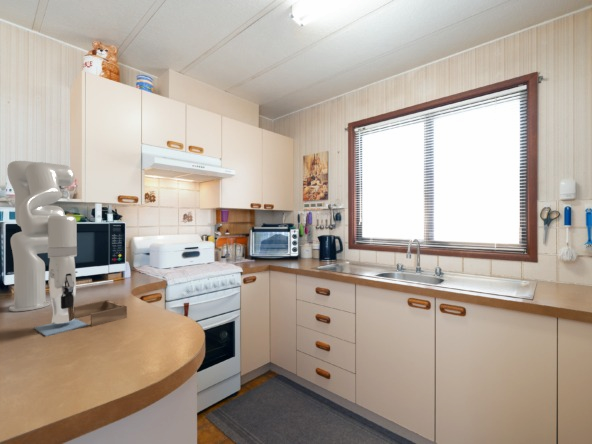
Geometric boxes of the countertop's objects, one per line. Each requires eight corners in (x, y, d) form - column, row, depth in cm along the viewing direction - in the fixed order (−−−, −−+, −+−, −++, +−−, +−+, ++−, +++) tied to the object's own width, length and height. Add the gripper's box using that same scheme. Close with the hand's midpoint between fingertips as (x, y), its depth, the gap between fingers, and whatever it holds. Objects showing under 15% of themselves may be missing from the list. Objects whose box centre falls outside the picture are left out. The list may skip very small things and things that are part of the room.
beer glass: (81, 319, 99) (80, 275, 98) (57, 326, 92) (56, 279, 92) (69, 316, 101) (68, 273, 101) (45, 323, 95) (44, 277, 95)
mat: (34, 328, 95) (34, 327, 95) (74, 319, 104) (74, 318, 104) (45, 336, 88) (45, 335, 88) (87, 325, 97) (87, 324, 97)
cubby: (74, 317, 106) (73, 306, 106) (107, 310, 115) (107, 300, 115) (92, 326, 96) (91, 314, 96) (126, 317, 105) (126, 306, 105)
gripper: (40, 252, 99) (40, 304, 99) (57, 255, 89) (58, 313, 89) (66, 250, 105) (67, 299, 105) (86, 252, 95) (86, 307, 95)
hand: (63, 305), depth 97 cm, fingers closed on beer glass, 6 cm apart
